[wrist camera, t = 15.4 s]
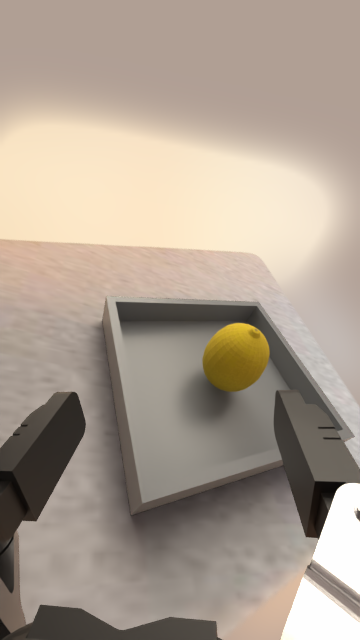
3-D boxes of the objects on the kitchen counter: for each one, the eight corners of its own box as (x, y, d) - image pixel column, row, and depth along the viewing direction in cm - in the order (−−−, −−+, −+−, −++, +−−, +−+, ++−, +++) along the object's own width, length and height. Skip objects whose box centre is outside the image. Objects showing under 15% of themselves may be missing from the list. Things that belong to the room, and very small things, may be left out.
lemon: (250, 391, 27) (298, 344, 22) (215, 416, 24) (261, 367, 18) (216, 352, 29) (252, 301, 24) (180, 369, 26) (212, 314, 21)
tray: (102, 320, 28) (106, 296, 26) (245, 320, 37) (258, 302, 35) (130, 515, 17) (142, 503, 15) (327, 450, 26) (354, 436, 23)
